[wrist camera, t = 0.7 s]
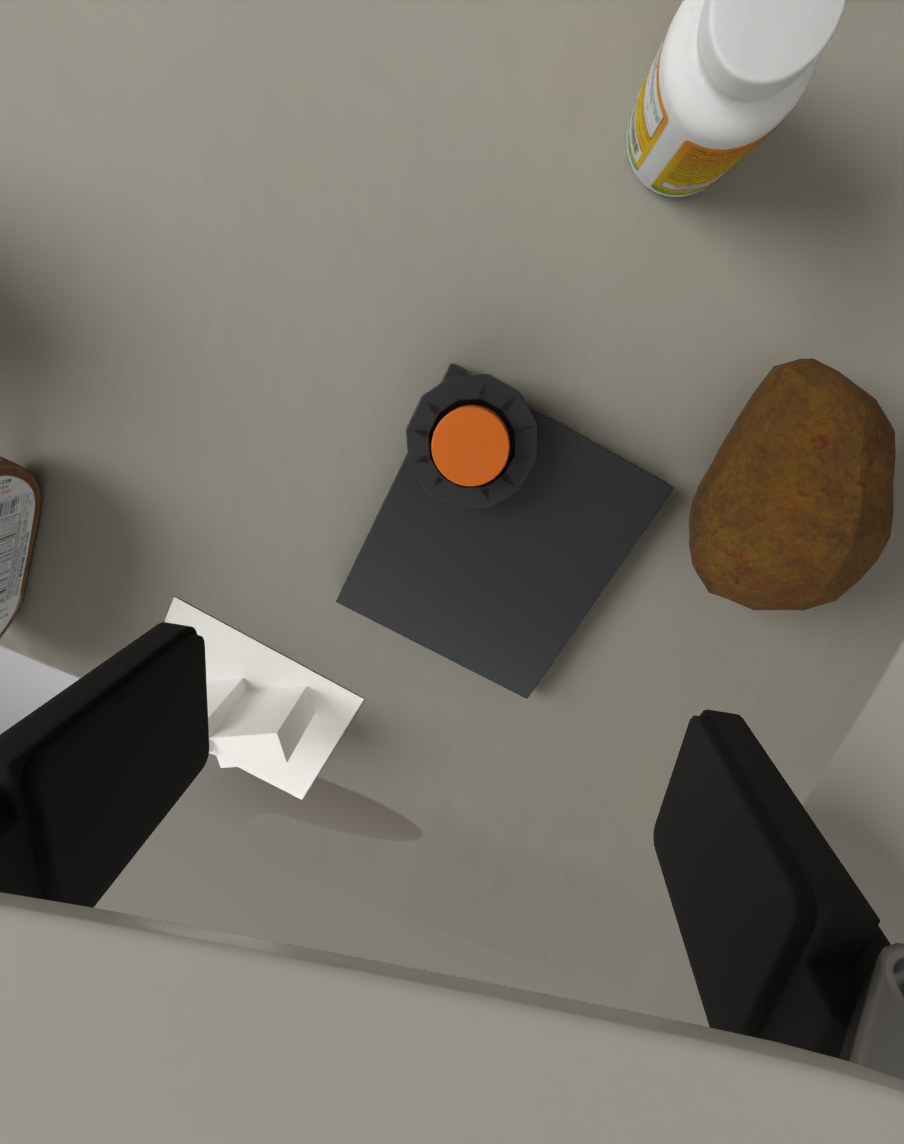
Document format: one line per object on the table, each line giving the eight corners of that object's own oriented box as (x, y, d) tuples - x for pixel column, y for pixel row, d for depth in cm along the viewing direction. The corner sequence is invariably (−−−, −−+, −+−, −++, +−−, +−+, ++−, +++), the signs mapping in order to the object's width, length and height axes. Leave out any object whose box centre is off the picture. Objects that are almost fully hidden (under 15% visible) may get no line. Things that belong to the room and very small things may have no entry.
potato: (896, 410, 29) (1050, 426, 20) (771, 600, 33) (857, 677, 25) (750, 352, 28) (847, 344, 20) (643, 551, 33) (688, 612, 24)
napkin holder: (127, 712, 41) (70, 764, 36) (172, 595, 37) (115, 634, 32) (303, 800, 42) (274, 862, 37) (365, 697, 38) (341, 750, 33)
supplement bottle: (769, 123, 25) (917, -18, 16) (676, 226, 27) (761, 152, 18) (691, 28, 24) (801, -179, 15) (600, 141, 26) (649, 17, 17)
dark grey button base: (449, 351, 30) (443, 349, 27) (671, 476, 31) (688, 486, 28) (335, 590, 36) (321, 609, 33) (526, 687, 37) (527, 713, 34)
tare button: (456, 390, 28) (453, 391, 26) (523, 427, 28) (524, 431, 27) (422, 459, 29) (417, 463, 28) (486, 493, 30) (485, 500, 28)
